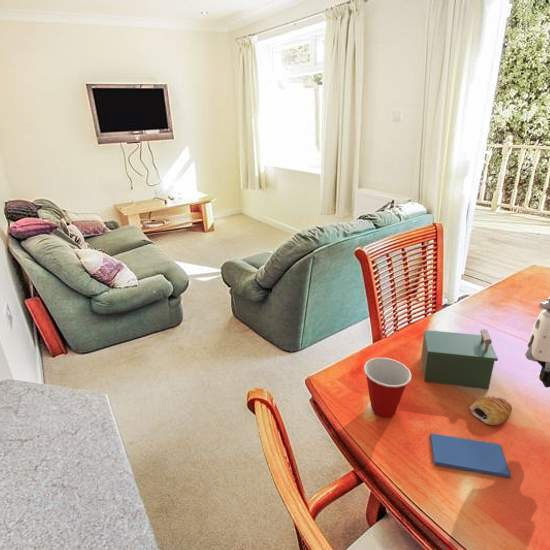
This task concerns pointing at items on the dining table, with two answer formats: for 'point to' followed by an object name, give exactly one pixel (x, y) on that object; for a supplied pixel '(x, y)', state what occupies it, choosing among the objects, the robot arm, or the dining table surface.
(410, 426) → the dining table surface
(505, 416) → the pastry
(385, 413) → the plastic cup
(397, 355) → the dining table surface
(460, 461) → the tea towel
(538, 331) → the robot arm
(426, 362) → the bin
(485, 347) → the bread bin lid
